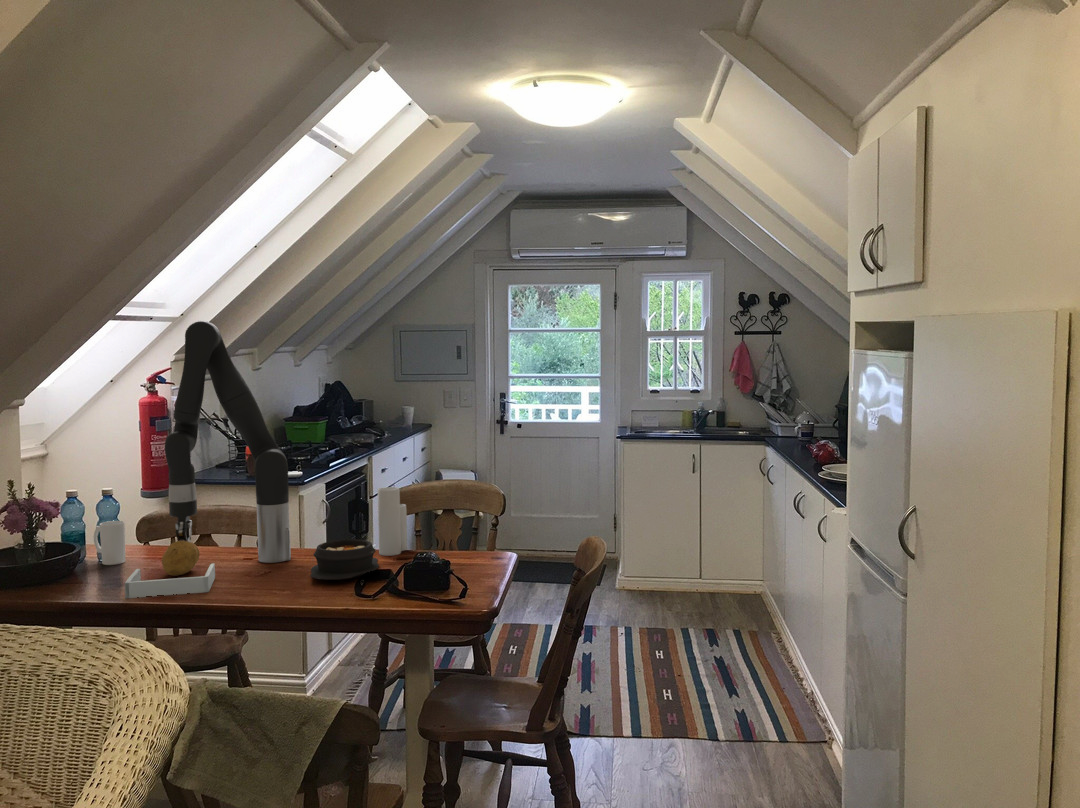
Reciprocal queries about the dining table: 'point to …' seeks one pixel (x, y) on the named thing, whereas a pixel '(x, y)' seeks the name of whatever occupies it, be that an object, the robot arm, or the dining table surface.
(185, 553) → the potato
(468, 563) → the dining table surface
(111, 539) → the mug
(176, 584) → the bin
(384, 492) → the vase
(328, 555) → the casserole
